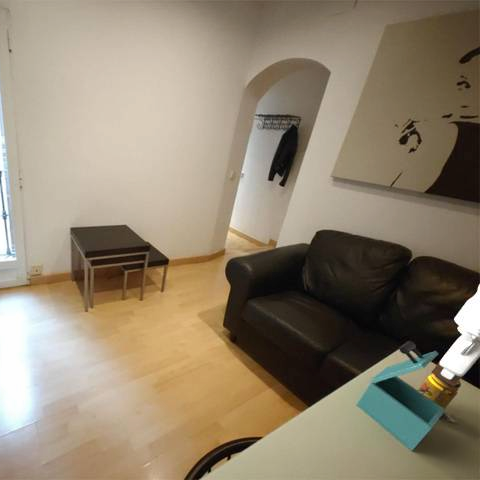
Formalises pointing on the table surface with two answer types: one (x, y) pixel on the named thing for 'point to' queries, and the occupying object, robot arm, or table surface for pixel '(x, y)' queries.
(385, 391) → the teal hinged box
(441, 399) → the condiment
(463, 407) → the table surface
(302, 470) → the table surface
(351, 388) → the table surface
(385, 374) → the teal box lid
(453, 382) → the block
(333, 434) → the table surface
